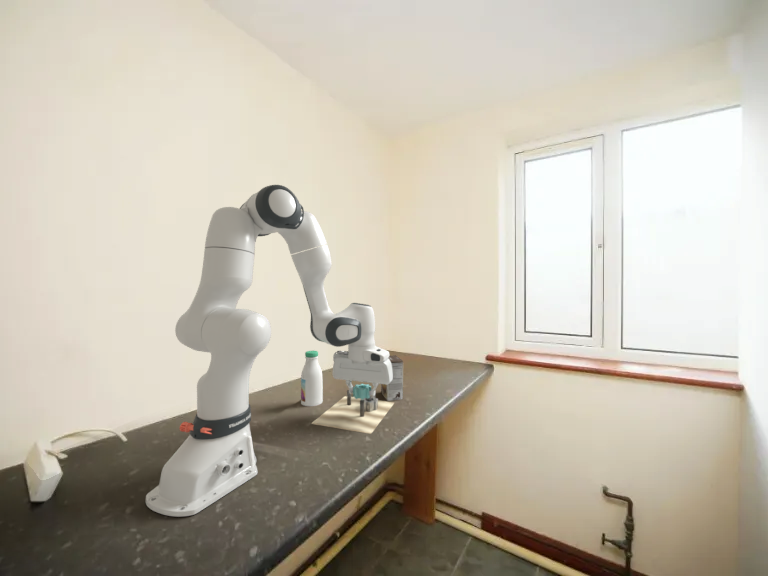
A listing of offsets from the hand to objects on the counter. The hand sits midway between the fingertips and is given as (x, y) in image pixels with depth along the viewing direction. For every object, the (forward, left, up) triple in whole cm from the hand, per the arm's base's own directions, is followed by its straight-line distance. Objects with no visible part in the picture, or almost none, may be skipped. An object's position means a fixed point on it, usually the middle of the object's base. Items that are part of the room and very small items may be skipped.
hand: (362, 394), depth 98 cm
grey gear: (+6, 0, -7) cm, 9 cm away
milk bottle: (+5, +22, -9) cm, 24 cm away
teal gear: (0, 0, -1) cm, 1 cm away
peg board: (+2, +3, -9) cm, 9 cm away
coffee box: (+20, -4, -9) cm, 22 cm away
